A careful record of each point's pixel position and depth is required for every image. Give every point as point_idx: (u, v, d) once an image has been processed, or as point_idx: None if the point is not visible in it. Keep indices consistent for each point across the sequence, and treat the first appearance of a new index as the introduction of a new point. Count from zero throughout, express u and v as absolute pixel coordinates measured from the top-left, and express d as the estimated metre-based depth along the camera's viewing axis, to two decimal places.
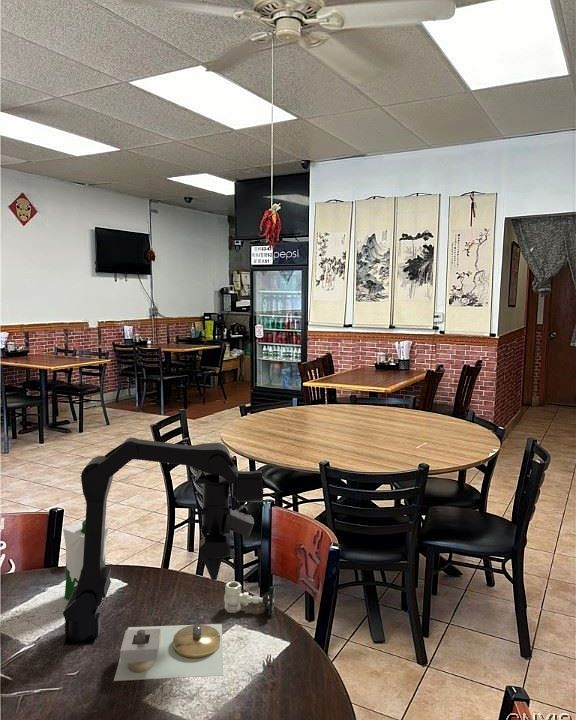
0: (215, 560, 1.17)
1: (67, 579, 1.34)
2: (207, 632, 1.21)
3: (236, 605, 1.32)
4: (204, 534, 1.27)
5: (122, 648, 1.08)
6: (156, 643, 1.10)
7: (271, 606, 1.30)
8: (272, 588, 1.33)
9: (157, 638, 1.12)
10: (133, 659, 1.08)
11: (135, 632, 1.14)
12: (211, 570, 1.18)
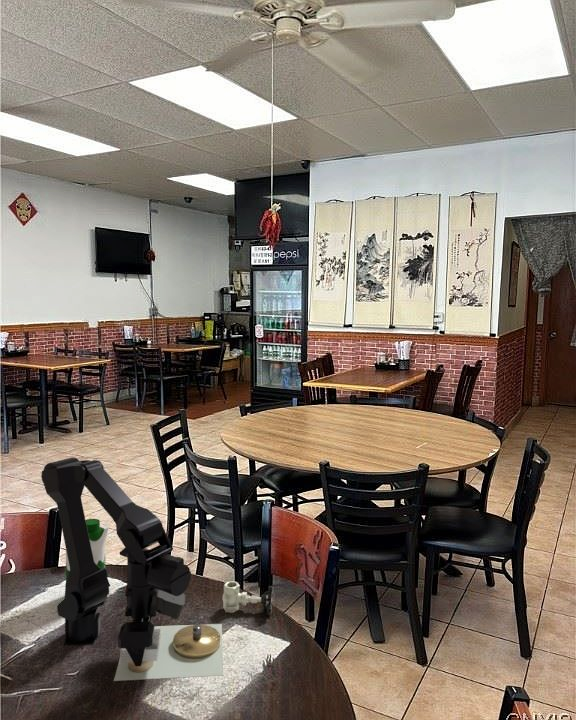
0: None
1: None
2: (207, 632, 1.21)
3: (234, 605, 1.32)
4: None
5: (122, 648, 1.08)
6: (156, 643, 1.10)
7: (269, 606, 1.30)
8: (270, 588, 1.33)
9: (157, 638, 1.12)
10: None
11: None
12: (134, 656, 1.07)
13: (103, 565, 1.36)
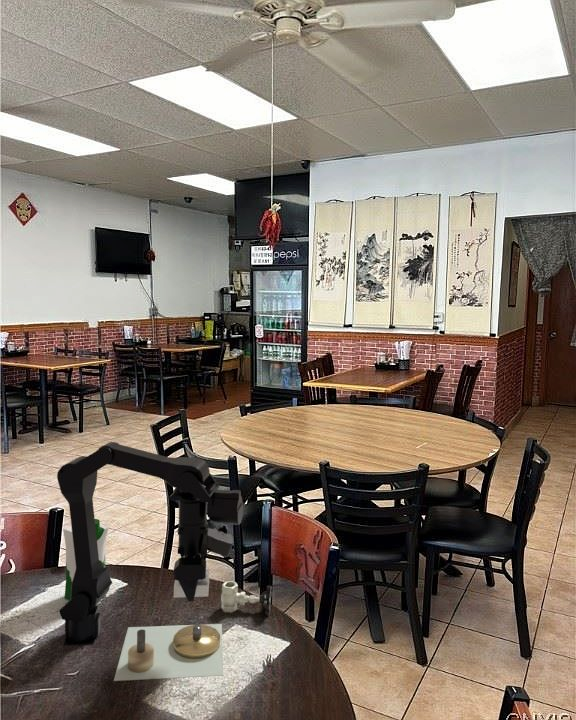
0: (191, 581, 1.12)
1: (67, 579, 1.34)
2: (207, 632, 1.21)
3: (233, 605, 1.32)
4: (182, 556, 1.20)
5: (175, 584, 1.14)
6: (207, 580, 1.15)
7: (268, 605, 1.30)
8: (269, 587, 1.33)
9: (207, 576, 1.17)
10: None
11: None
12: (187, 591, 1.12)
13: (103, 565, 1.36)
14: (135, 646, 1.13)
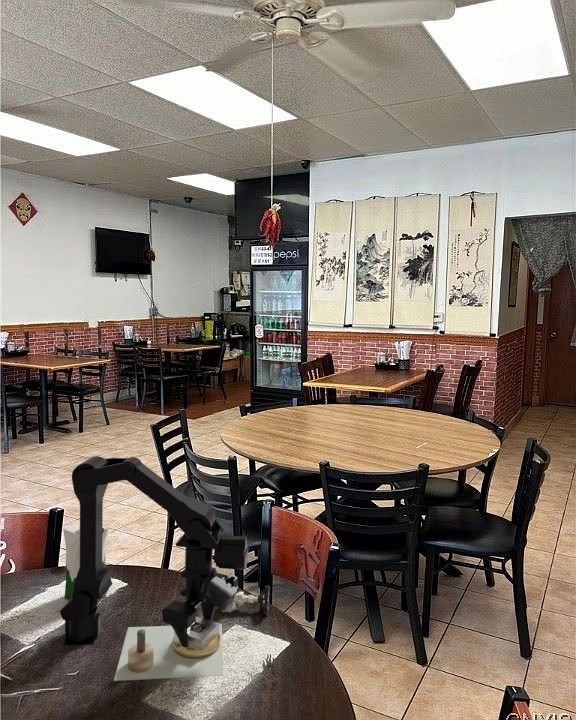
0: (183, 627, 1.13)
1: (67, 579, 1.34)
2: None
3: (231, 604, 1.32)
4: None
5: None
6: (206, 635, 1.16)
7: (266, 605, 1.30)
8: (267, 587, 1.33)
9: (210, 630, 1.18)
10: None
11: (197, 619, 1.22)
12: (180, 636, 1.14)
13: None
14: (135, 646, 1.13)
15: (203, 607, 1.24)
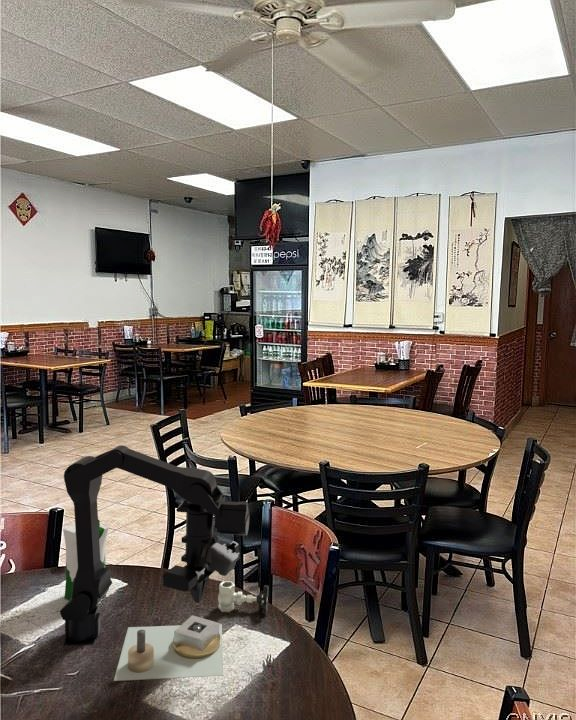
0: (195, 583, 1.17)
1: (67, 579, 1.34)
2: None
3: (230, 604, 1.33)
4: None
5: (177, 630, 1.18)
6: (206, 635, 1.16)
7: (265, 605, 1.30)
8: (266, 587, 1.33)
9: (210, 630, 1.18)
10: (183, 643, 1.16)
11: (197, 619, 1.22)
12: (192, 592, 1.17)
13: (103, 565, 1.36)
14: (135, 646, 1.13)
15: None
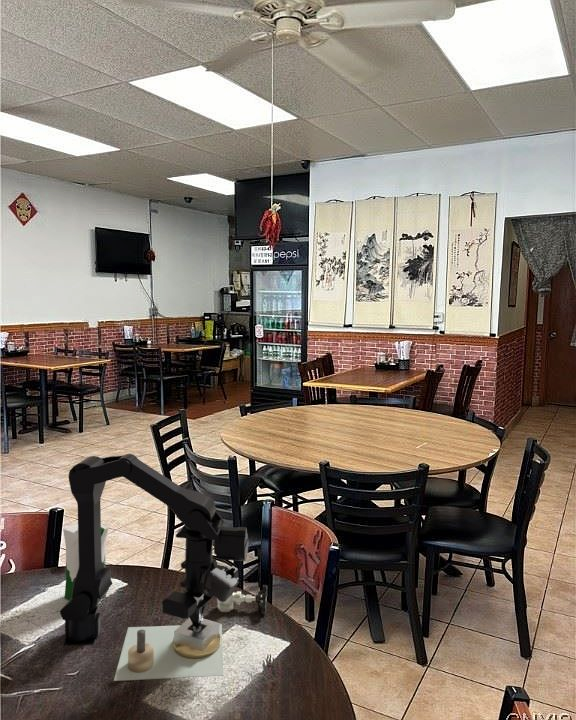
0: None
1: (67, 579, 1.34)
2: None
3: (229, 604, 1.33)
4: None
5: (177, 630, 1.18)
6: (206, 635, 1.16)
7: (264, 605, 1.30)
8: (265, 587, 1.33)
9: (210, 630, 1.18)
10: (183, 643, 1.16)
11: None
12: (191, 617, 1.18)
13: None
14: (135, 646, 1.13)
15: None
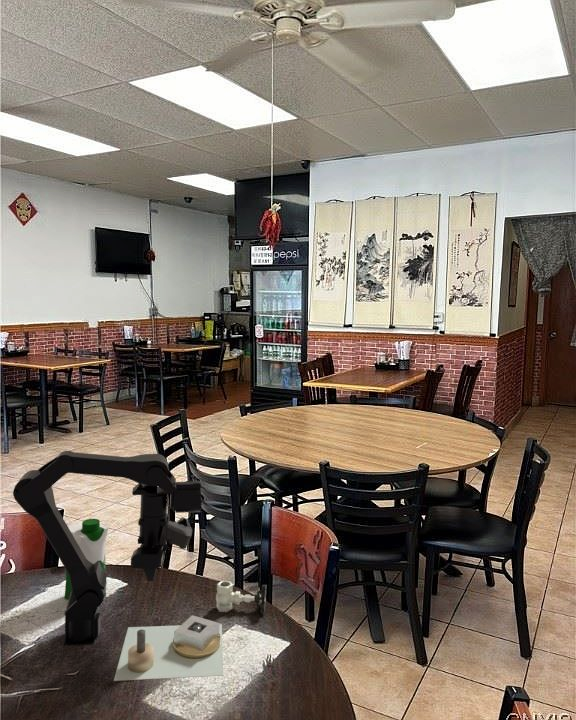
0: None
1: (67, 579, 1.34)
2: None
3: (228, 604, 1.33)
4: None
5: (177, 630, 1.18)
6: (206, 635, 1.16)
7: (263, 604, 1.31)
8: (264, 586, 1.33)
9: (210, 630, 1.18)
10: (183, 643, 1.16)
11: (197, 619, 1.22)
12: (147, 572, 1.22)
13: (103, 565, 1.36)
14: (135, 646, 1.13)
15: None
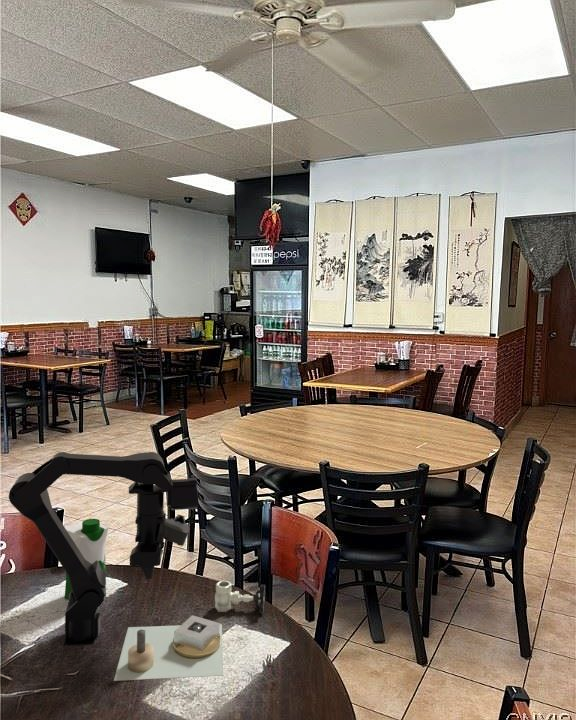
0: None
1: (67, 579, 1.34)
2: None
3: (227, 604, 1.33)
4: None
5: (177, 630, 1.18)
6: (206, 635, 1.16)
7: (262, 604, 1.31)
8: (263, 586, 1.33)
9: (210, 630, 1.18)
10: (183, 643, 1.16)
11: (197, 619, 1.22)
12: (145, 570, 1.22)
13: (103, 565, 1.36)
14: (135, 646, 1.13)
15: None
